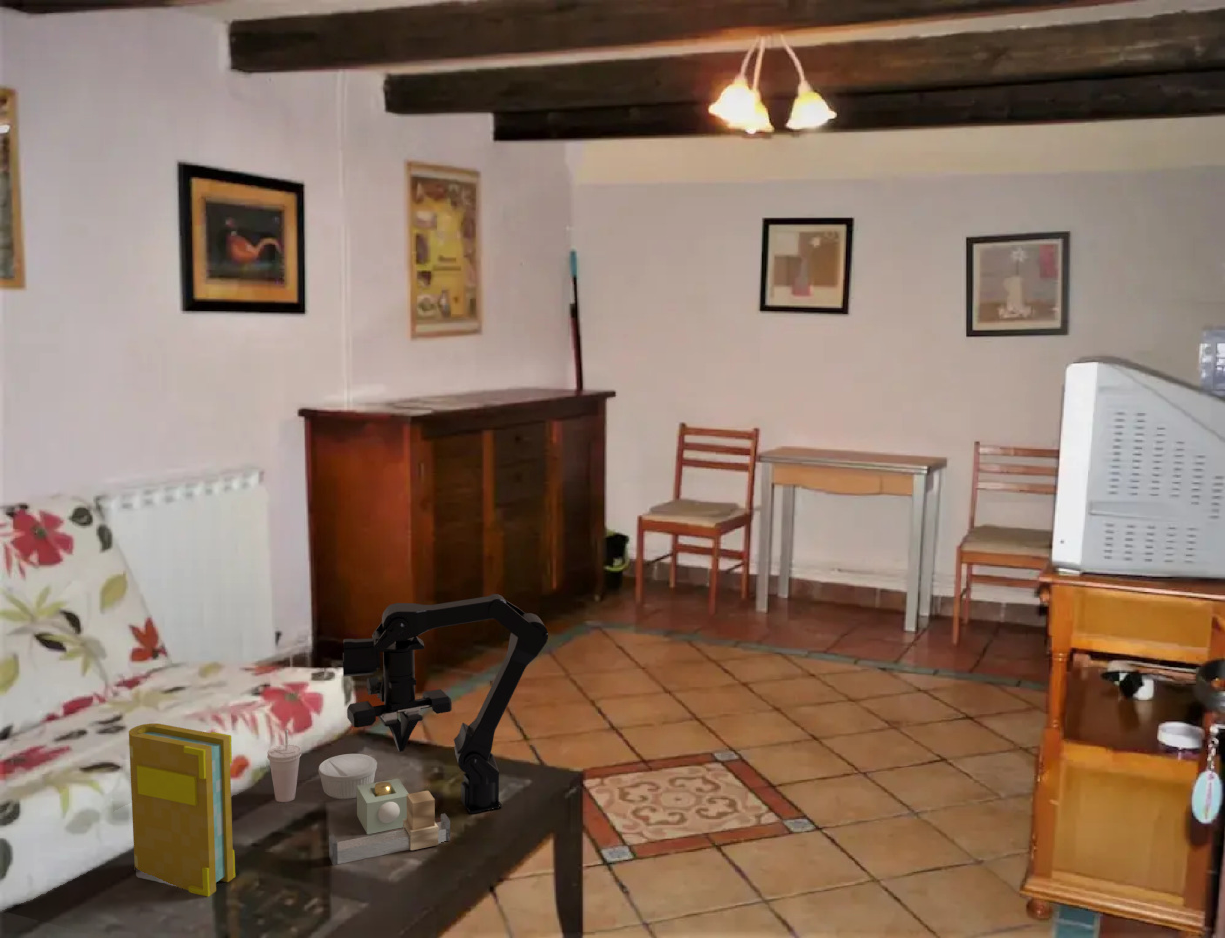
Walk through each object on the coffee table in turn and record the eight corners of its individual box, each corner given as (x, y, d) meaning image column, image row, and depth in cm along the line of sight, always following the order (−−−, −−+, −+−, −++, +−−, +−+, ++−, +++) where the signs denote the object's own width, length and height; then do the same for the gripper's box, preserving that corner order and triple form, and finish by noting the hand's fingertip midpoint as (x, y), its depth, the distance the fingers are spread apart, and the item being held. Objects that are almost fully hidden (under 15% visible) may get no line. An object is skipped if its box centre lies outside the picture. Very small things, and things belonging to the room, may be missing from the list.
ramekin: (307, 796, 211) (307, 770, 210) (340, 773, 221) (340, 749, 220) (356, 806, 207) (355, 780, 206) (387, 783, 217) (387, 758, 217)
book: (235, 876, 180) (231, 735, 177) (208, 896, 174) (203, 750, 170) (154, 857, 186) (148, 720, 182) (125, 876, 180) (118, 734, 176)
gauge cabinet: (398, 807, 207) (398, 778, 206) (410, 826, 199) (410, 795, 198) (357, 815, 203) (356, 785, 202) (367, 834, 196) (367, 803, 195)
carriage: (429, 832, 197) (429, 788, 195) (438, 845, 192) (438, 800, 191) (403, 837, 194) (402, 793, 193) (411, 850, 190) (410, 805, 189)
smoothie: (292, 806, 206) (290, 737, 204) (261, 803, 207) (260, 734, 205) (308, 792, 212) (307, 725, 210) (278, 788, 213) (277, 721, 211)
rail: (445, 833, 197) (445, 813, 196) (450, 841, 194) (450, 820, 194) (329, 857, 188) (329, 835, 187) (332, 865, 185) (332, 843, 184)
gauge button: (389, 801, 203) (388, 780, 202) (393, 808, 200) (393, 786, 200) (373, 804, 202) (373, 783, 201) (377, 811, 199) (377, 789, 198)
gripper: (433, 652, 212) (434, 727, 215) (338, 666, 204) (341, 744, 206) (452, 669, 202) (453, 747, 205) (353, 684, 194) (355, 766, 196)
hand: (400, 750), depth 203 cm, fingers closed
